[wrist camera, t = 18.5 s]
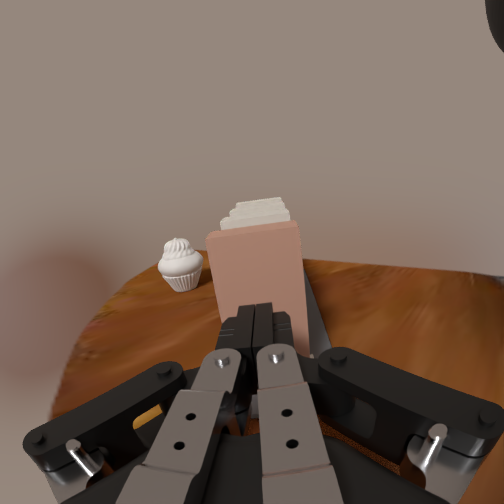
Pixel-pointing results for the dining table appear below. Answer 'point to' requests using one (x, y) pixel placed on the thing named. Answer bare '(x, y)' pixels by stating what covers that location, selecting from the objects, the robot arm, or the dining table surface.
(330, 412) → the robot arm
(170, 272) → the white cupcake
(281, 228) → the terracotta domino
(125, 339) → the dining table surface
